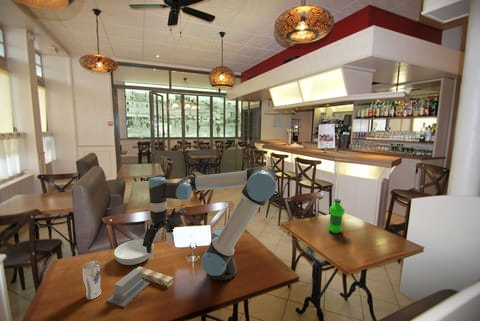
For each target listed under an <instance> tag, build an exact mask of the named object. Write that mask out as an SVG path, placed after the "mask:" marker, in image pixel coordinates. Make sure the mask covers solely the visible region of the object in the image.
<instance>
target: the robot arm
mask: <svg viewBox="0 0 480 321" xmlns="http://www.w3.org/2000/svg"><path fill="white" fill-rule="evenodd" d="M241 187H243V188H242V190H241V195H242V196H241V198H240V200H239V202H238V203H237V204H236V207H235V209H234V210H233V211H232V213H231V214H230V217H229V218H228V220H227V222H226V223H225V225H224V227H223V228H219V229H215V230H213V231H212V232H211V241H210V243H209V244H208V246H207V248H206V250H205V251H204V253H203V255H202V256H201V259H200V266H201V267H202V269H203V271H204V273H206V274H208V276H209V277H210V278H211V279H213V280H216V281H218V280H220V281H223V280H225V281H228V279H229V280H231V279H233V278H234V277H235V276H236V275H235V274H237V265H236V262H235V258H234V257H235V256H234V253H235V252H236V251H235V245H236V244H238V241H239V240H240V238H241V236H242V235H243V233H244V231H245V230H246V228H247V227H248V226H249V224H250V222H251V220H252V219H253V217H254V216H255V214H256V212H257V211H258V210H259V208H260V207H264V206H265V205H266V203H267V202H268V200H270V199H271V198H272V197H273V196H274V195H275V193H276V192H275V191H276V188H277V177H276V174H275V171H274V170H273V169H272V168H270V167H268V166H256V167H255V166H254V167H249V168H246V169H245V170H240V171H232V172H222V173H221V172H220V173H214V174H212V173H211V174H204V175H203V174H202V175H193V174H192V175H187V176H184V177H183V178H182V179H180V180H179V181H177V182H168V181H167V179H166V177H163V176H156V177H155V176H154V177H153V176H152V177H151V178H150V179H149V180H148V191H149V193H148V194H149V208H150V209H149V210H150V211H149V212H150V215H149V217H150V220H151V223H147V224H146V231H145V234H144V238H143V240H144V241H143V245H142V246H144V247H146V249H147V254H148V259H150V260H153V259H154V248H153V245H154V240H155V237H156V235H157V234H158V232H159V231H160V230H161V229H164V230H165V231H166V232H165V238H166V240H165V241H166V243H165V244H166V245H169V246H172V244H173V242H172V236H173V234H172V233H174V230H175V226H174V223H173V221H172V219H171V215H170V214H168V209H167V208H168V206H167V205H168V204H167V203H168V202H167V201H168V200H167V199H169V200H179V201H185V200H186V201H187V200H190V198H191V196H192V194H193V193H192V192H197V191H208V190H217V189H219V190H220V189H231V188H241ZM149 243H150V244H149ZM152 243H153V245H152ZM233 276H234V277H233ZM232 277H233V278H232ZM223 282H224V281H223Z"/></svg>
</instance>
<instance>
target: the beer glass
mask: <svg viewBox="0 0 480 321" xmlns="http://www.w3.org/2000/svg"><path fill="white" fill-rule="evenodd" d="M82 279H83V283H84V285H85V289H86V295H85V297H86V299H87V300H94V298H95V299H97V298H99V297H100V296H101V295H102V293H101V292H102V288H101V279H102V269H101V263H100V261H98V260H92V261H88V262H86V263H84V264H83V265H82ZM100 294H101V295H100ZM99 295H100V296H99ZM98 296H99V297H98ZM96 297H97V298H96Z"/></svg>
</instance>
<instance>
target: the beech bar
mask: <svg viewBox="0 0 480 321" xmlns="http://www.w3.org/2000/svg"><path fill="white" fill-rule="evenodd" d="M135 269H139V270H142V278H144V280H145V279H148V280H150V281H149V282H151V281H153V282H152V283H154V282H156V283H159V284H161V285H160V286H162V285H164V286H163V287H165V286H167V287H166V288H168V287H169V286H170V287H171V286H173V285H174V277H173V276H169V275H166V274H164V273H162V272H161V273H160V272H157V271H154V270H151V269H149V268H145V267H142V266H137V268H135ZM148 280H147V281H148ZM156 283H155V284H156ZM159 284H158V285H159ZM170 287H169V288H170Z"/></svg>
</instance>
